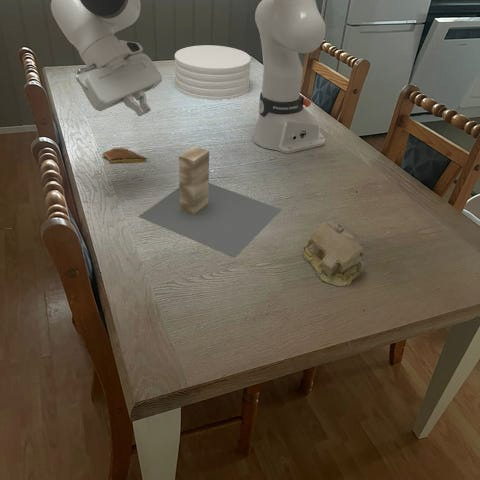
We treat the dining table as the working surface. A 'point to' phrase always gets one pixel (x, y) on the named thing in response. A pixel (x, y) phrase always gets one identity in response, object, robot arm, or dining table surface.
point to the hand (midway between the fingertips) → (145, 113)
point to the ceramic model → (334, 254)
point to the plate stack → (212, 72)
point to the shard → (123, 156)
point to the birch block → (194, 179)
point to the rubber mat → (215, 219)
